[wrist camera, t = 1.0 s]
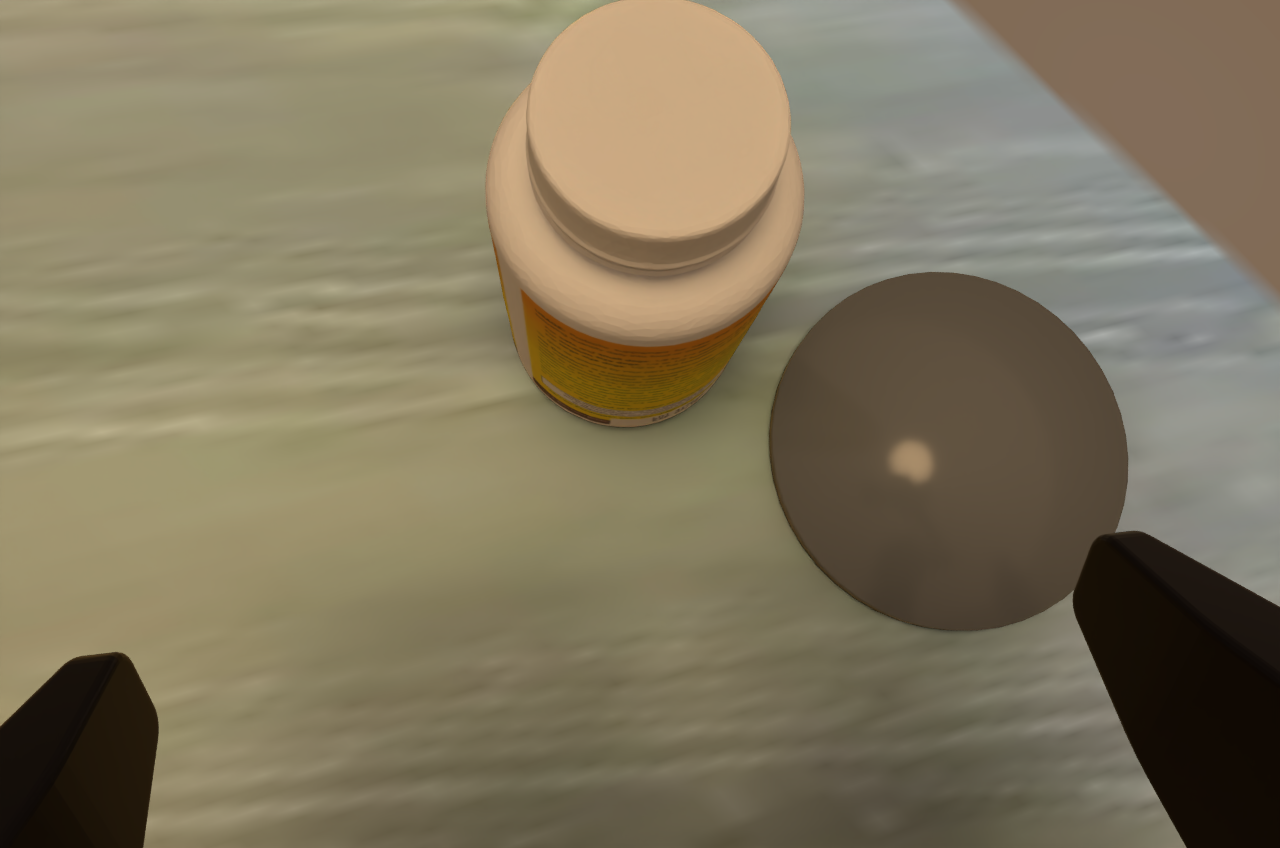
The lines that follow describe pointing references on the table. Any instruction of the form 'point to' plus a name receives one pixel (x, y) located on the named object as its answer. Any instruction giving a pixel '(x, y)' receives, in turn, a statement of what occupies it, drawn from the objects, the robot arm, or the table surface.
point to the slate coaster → (947, 451)
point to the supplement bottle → (642, 207)
